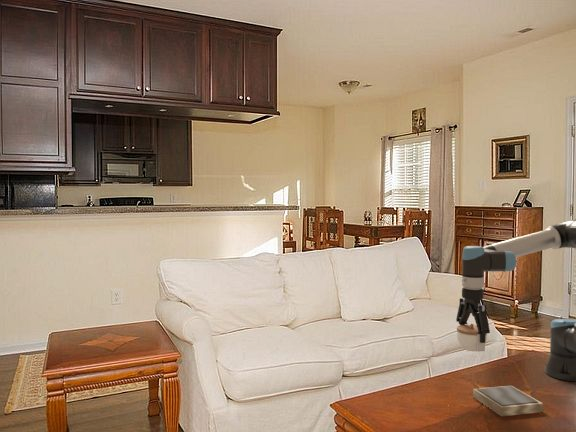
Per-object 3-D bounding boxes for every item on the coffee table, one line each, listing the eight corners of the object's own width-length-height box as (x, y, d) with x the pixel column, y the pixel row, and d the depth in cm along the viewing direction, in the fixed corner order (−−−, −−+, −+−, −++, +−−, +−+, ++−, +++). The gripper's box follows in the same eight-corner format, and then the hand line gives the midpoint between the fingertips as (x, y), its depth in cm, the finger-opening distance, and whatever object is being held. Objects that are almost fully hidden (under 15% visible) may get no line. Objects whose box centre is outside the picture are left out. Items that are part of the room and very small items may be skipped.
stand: (511, 393, 181) (511, 384, 180) (542, 412, 165) (542, 402, 165) (472, 397, 177) (473, 388, 177) (501, 416, 161) (501, 406, 161)
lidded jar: (489, 354, 174) (490, 328, 174) (458, 352, 176) (458, 327, 176) (484, 345, 185) (484, 321, 184) (455, 343, 187) (455, 319, 187)
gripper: (447, 282, 190) (446, 338, 191) (482, 294, 167) (481, 357, 168) (464, 282, 192) (463, 336, 193) (501, 293, 169) (500, 355, 170)
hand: (471, 346), depth 180 cm, fingers closed on lidded jar, 11 cm apart
